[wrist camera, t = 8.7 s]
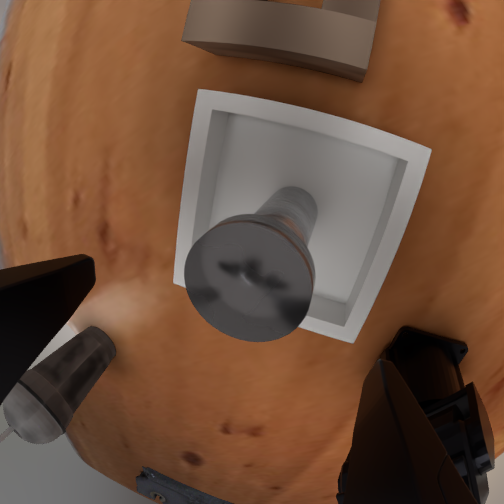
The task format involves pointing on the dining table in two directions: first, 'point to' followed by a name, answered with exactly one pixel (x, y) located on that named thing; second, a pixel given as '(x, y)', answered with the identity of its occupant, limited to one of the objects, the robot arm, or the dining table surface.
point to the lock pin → (256, 269)
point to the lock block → (287, 33)
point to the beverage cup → (57, 387)
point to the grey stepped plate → (171, 490)
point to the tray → (311, 180)
